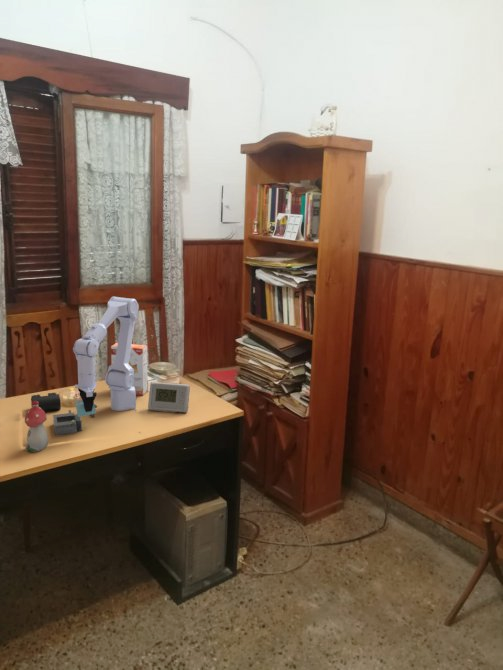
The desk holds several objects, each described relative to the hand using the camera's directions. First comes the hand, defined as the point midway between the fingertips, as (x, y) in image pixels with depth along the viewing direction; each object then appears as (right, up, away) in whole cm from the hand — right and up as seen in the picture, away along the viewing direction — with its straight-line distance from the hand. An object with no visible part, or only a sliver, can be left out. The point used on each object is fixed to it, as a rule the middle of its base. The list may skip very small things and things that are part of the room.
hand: (88, 409), depth 185 cm
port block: (-8, -7, -1) cm, 11 cm away
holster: (-6, -5, +10) cm, 12 cm away
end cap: (-21, -3, +14) cm, 25 cm away
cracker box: (+6, +2, +38) cm, 39 cm away
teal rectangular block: (-1, -2, 0) cm, 2 cm away
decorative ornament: (-12, -11, -14) cm, 22 cm away
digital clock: (+25, -4, +21) cm, 33 cm away
